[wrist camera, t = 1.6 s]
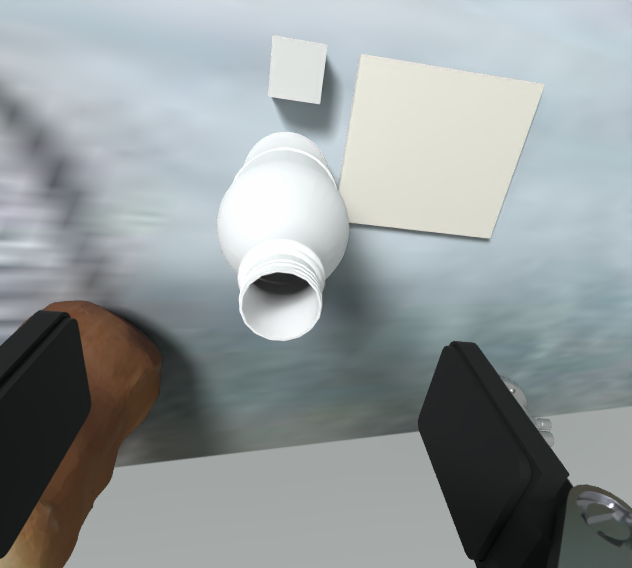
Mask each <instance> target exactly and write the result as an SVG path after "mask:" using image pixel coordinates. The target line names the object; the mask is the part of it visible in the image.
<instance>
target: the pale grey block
mask: <svg viewBox="0 0 632 568" xmlns="http://www.w3.org/2000/svg"><path fill="white" fill-rule="evenodd" d="M327 45H328V44H322V43H316V42H310V41H304V40H298V39H292V38H286V37H280V36H274V35H273V37H272V51H271V64H270V78H269V92H268V97H274V98H281V99H288V100H294V101H301V102H308V103H315V104H320V100H321V92H322V84H323V76H324V69H325V61H326V53H327Z"/></svg>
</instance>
